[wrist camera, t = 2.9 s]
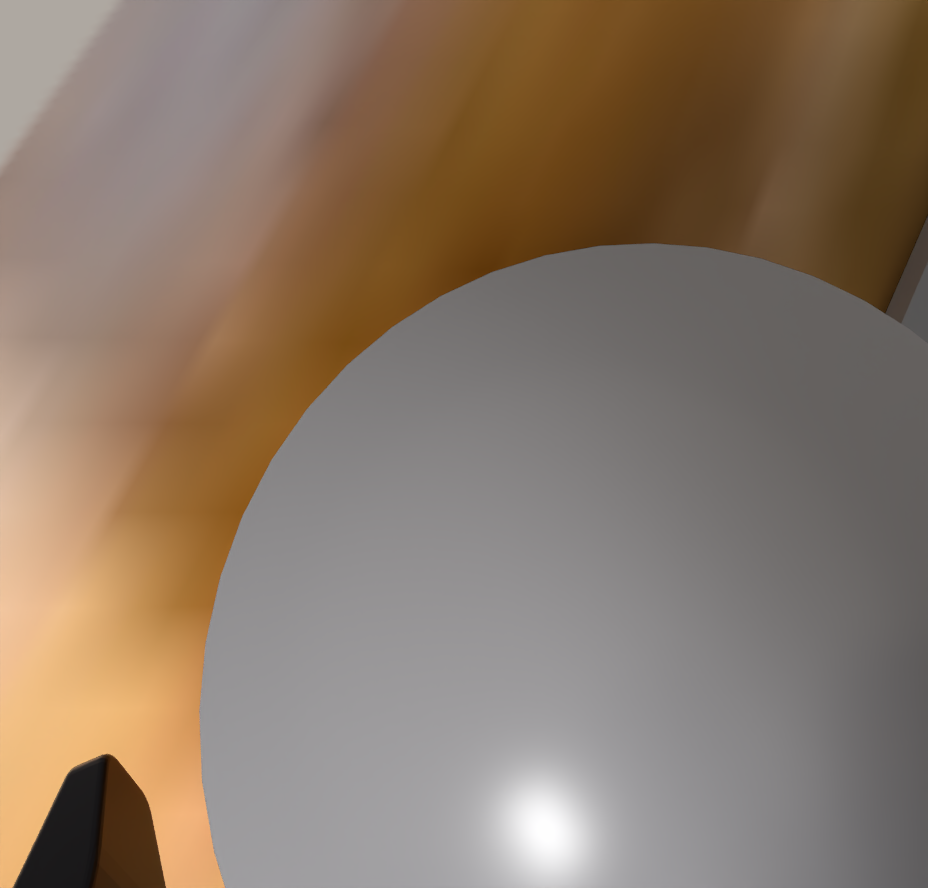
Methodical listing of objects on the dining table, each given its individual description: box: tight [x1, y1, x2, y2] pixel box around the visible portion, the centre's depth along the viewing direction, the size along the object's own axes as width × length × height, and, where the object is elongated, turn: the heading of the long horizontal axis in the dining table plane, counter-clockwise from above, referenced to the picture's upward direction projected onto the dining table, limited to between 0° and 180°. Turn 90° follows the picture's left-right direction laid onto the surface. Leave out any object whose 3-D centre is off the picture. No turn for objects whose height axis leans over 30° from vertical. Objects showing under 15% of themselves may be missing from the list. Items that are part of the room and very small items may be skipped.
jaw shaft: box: [200, 243, 928, 888], centre depth 11 cm, size 5×5×13 cm
